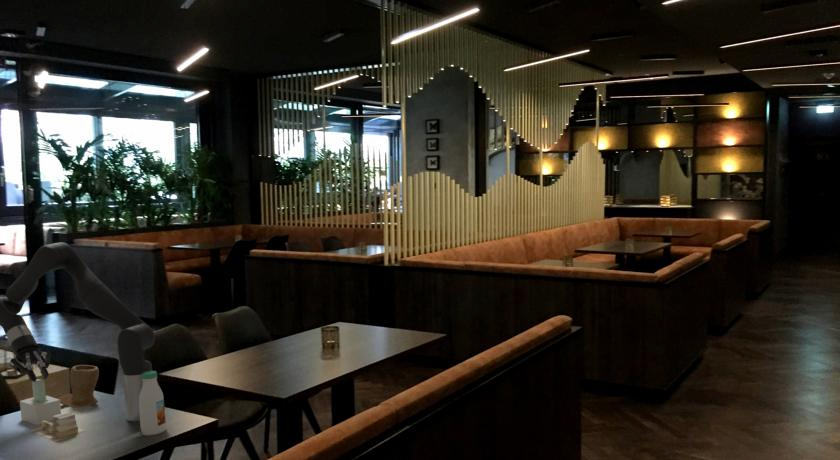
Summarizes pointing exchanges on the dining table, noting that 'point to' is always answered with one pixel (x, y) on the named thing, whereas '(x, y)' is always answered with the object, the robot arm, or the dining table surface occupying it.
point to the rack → (47, 432)
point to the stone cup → (81, 386)
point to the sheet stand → (39, 410)
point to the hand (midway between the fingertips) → (40, 378)
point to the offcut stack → (64, 425)
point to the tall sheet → (39, 391)
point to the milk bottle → (151, 405)
